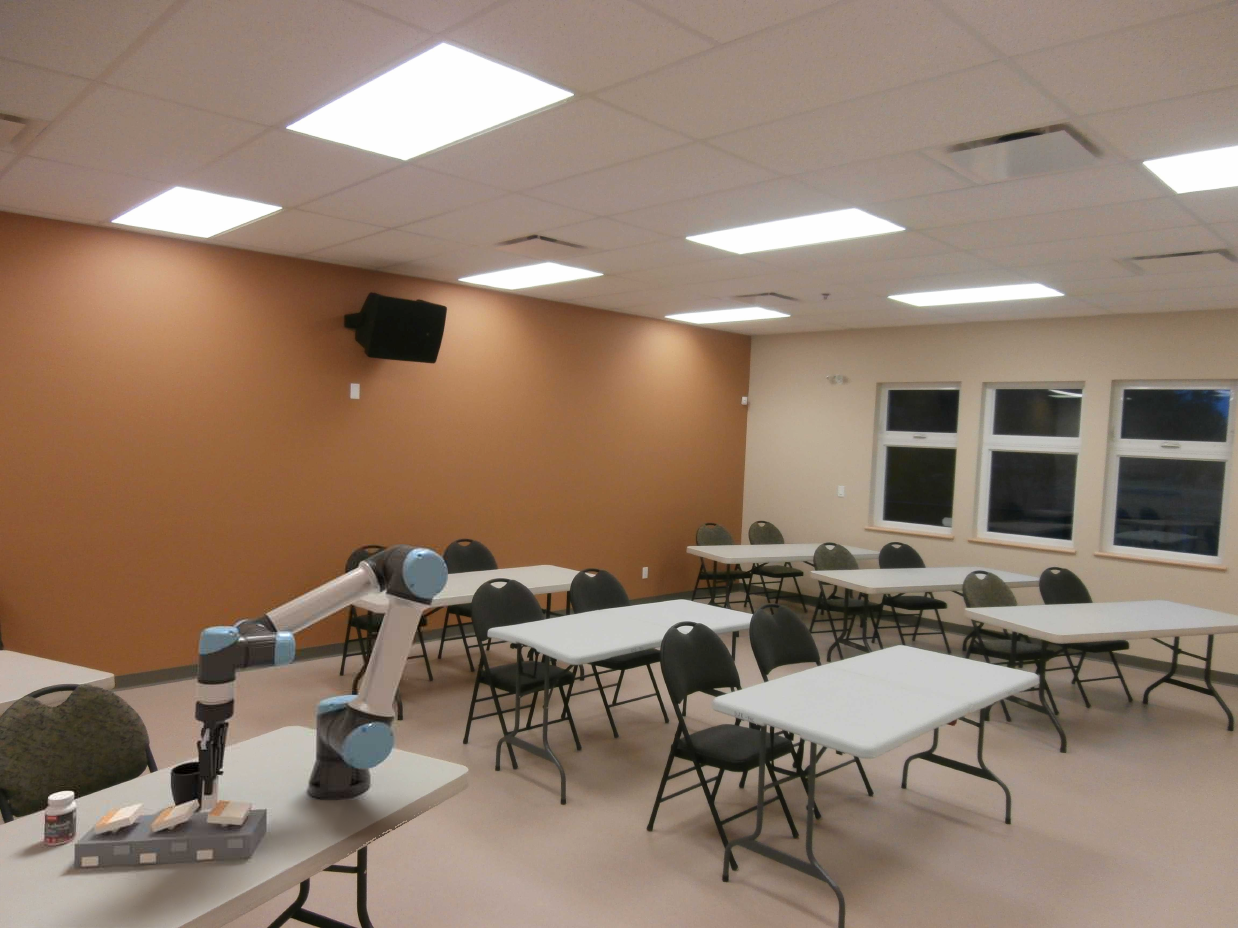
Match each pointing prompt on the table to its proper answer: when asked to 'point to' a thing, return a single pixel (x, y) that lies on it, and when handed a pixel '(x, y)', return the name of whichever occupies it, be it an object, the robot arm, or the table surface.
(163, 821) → the switch
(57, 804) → the pill bottle
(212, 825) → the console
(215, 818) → the switch
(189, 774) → the mug
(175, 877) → the table surface
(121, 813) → the switch
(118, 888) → the table surface
